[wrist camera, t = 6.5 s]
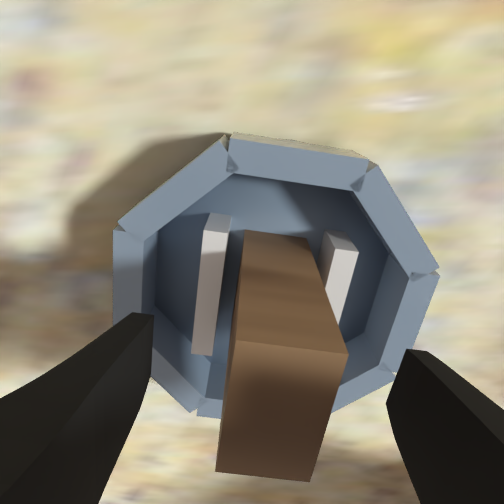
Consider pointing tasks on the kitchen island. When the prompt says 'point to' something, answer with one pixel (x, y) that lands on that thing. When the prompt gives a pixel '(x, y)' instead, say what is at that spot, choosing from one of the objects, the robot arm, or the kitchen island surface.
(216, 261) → the blue-grey octagonal tray
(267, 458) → the wooden rectangular block
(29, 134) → the kitchen island surface
